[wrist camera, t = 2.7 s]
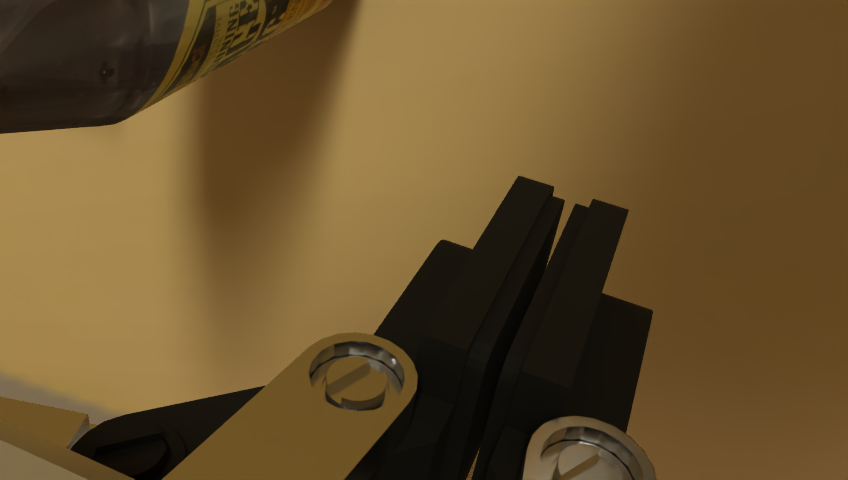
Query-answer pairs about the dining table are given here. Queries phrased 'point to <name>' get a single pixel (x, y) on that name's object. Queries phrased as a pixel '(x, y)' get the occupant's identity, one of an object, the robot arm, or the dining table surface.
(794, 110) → the dining table surface
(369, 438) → the robot arm
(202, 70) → the sauce bottle
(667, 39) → the dining table surface
